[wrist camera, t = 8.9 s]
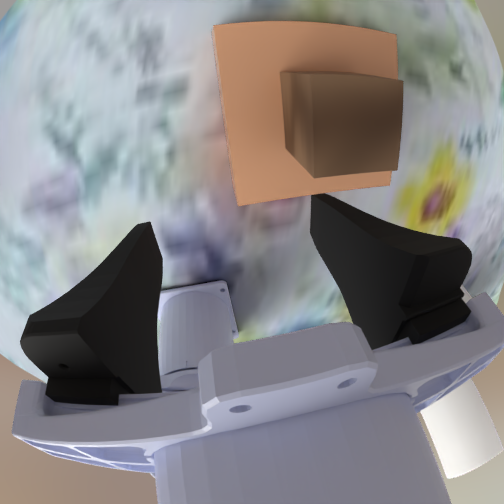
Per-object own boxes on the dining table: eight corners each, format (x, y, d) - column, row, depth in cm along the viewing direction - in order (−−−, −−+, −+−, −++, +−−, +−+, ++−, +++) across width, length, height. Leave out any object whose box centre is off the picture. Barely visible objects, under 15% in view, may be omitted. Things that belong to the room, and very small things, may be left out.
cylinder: (397, 355, 48) (447, 469, 26) (375, 328, 38) (445, 488, 16) (462, 306, 43) (524, 413, 21) (460, 262, 33) (553, 405, 11)
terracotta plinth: (371, 170, 22) (389, 185, 19) (233, 188, 21) (238, 206, 19) (373, 35, 14) (396, 34, 12) (211, 32, 13) (213, 25, 11)
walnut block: (355, 142, 17) (397, 170, 13) (285, 148, 17) (313, 178, 13) (354, 72, 14) (403, 81, 10) (279, 72, 13) (310, 74, 10)
